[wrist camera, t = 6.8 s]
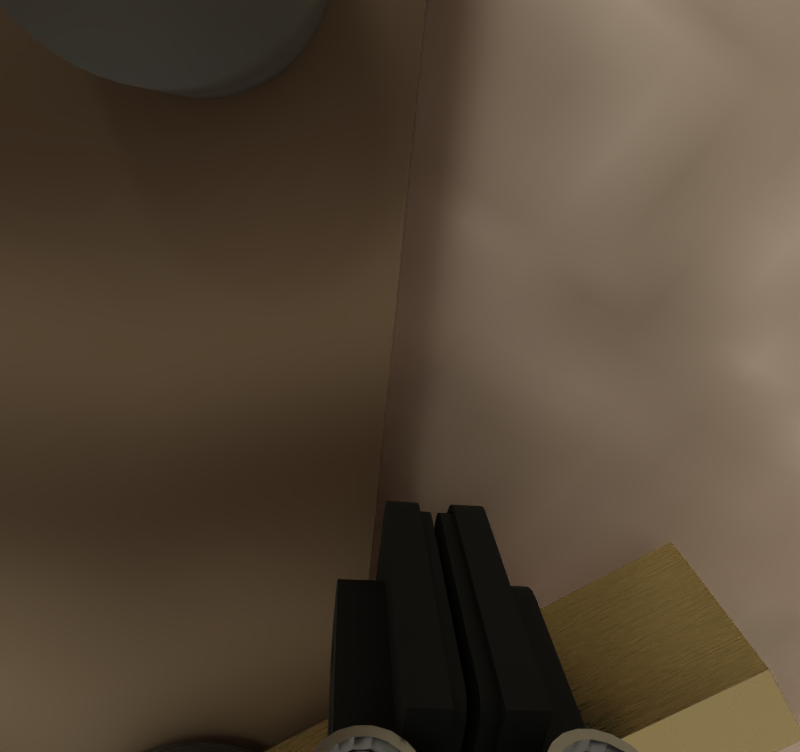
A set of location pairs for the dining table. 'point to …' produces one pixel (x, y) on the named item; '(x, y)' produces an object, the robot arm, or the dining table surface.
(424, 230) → the dining table surface
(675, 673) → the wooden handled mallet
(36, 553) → the base plate
